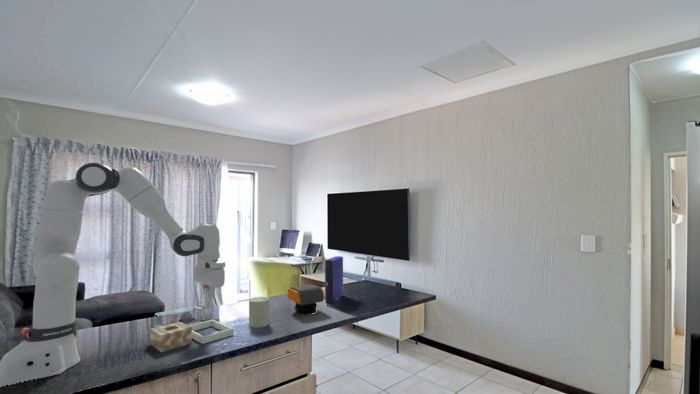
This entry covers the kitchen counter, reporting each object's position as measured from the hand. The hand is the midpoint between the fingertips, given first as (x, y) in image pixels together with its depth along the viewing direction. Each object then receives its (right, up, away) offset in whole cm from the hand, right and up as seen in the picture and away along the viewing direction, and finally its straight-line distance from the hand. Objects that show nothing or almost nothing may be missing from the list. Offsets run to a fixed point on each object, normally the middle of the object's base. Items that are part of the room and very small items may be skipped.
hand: (208, 295), depth 143 cm
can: (+18, -18, +14) cm, 29 cm away
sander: (+34, -19, +37) cm, 53 cm away
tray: (0, -17, -1) cm, 17 cm away
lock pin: (0, -10, 0) cm, 10 cm away
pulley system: (-17, -19, +17) cm, 30 cm away
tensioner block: (-10, -17, -11) cm, 22 cm away
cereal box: (+50, -19, +58) cm, 79 cm away
